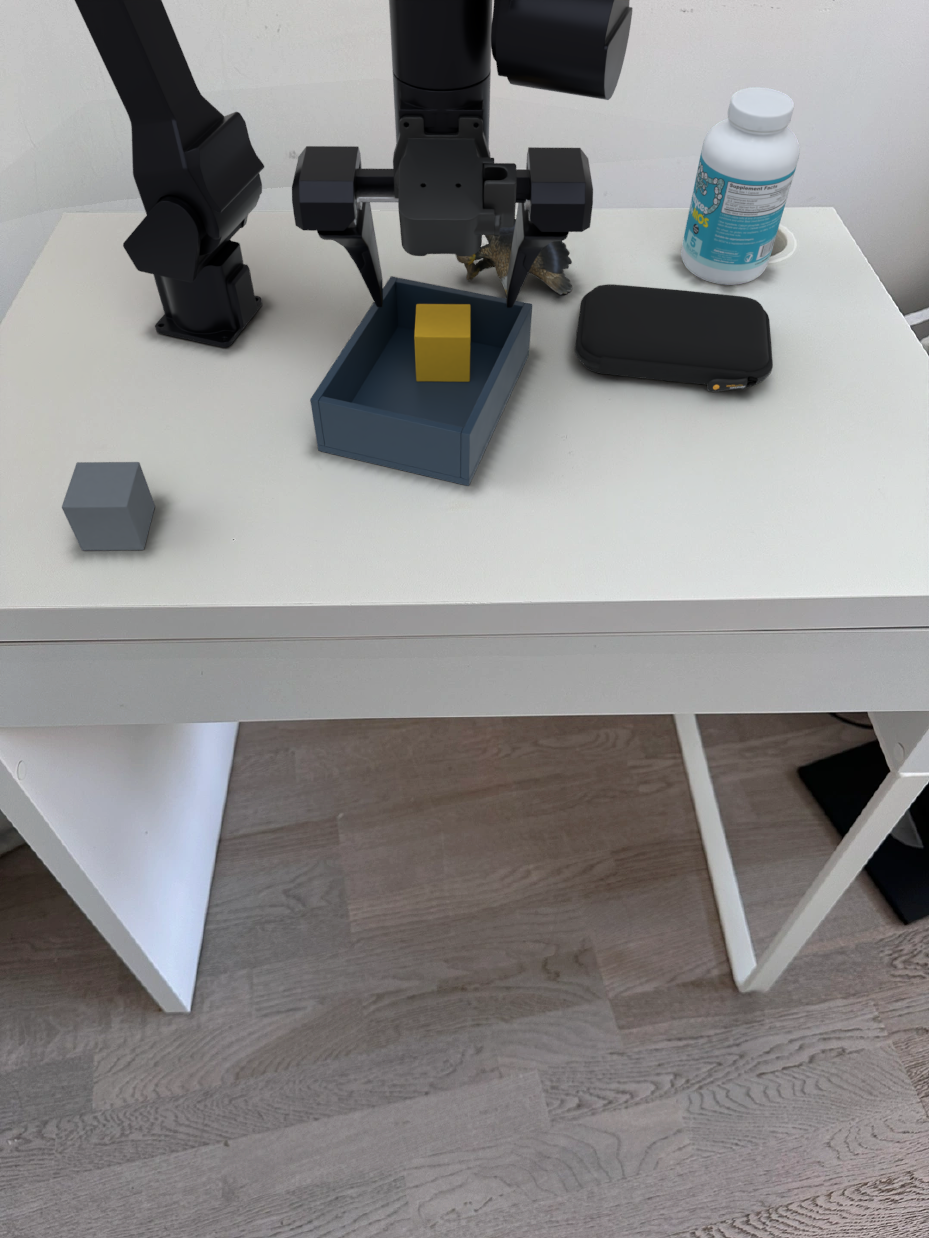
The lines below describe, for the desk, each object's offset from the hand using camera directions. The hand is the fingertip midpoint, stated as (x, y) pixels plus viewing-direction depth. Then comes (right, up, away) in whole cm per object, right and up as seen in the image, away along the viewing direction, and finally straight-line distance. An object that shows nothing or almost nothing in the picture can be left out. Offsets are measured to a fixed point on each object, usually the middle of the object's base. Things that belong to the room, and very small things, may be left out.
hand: (444, 304), depth 67 cm
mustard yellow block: (0, -3, +4) cm, 5 cm away
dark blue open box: (-1, -6, +3) cm, 7 cm away
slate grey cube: (-21, -16, -5) cm, 27 cm away
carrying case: (+17, -2, +6) cm, 19 cm away
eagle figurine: (+6, +5, +12) cm, 14 cm away
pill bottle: (+24, +8, +14) cm, 29 cm away
